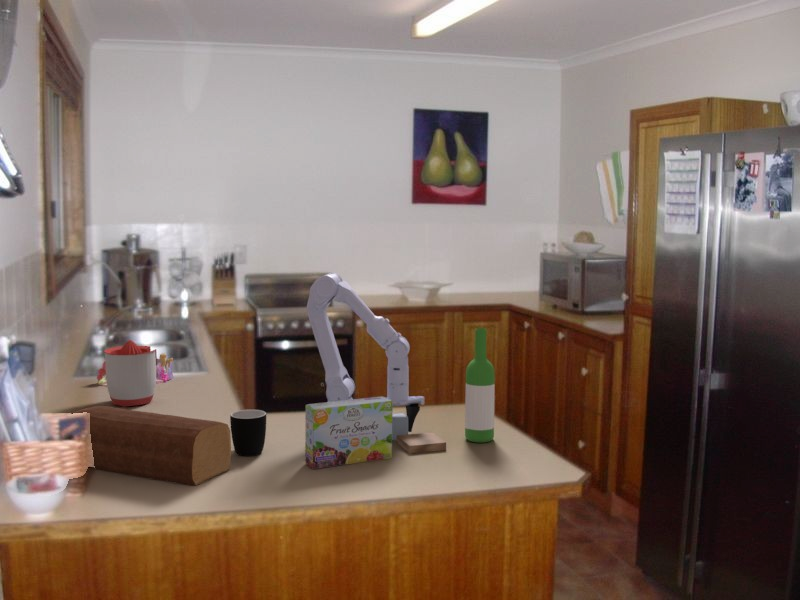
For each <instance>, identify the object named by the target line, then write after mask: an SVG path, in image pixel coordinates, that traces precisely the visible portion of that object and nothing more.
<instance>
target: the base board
mask: <svg viewBox="0 0 800 600" xmlns="http://www.w3.org/2000/svg"><path fill="white" fill-rule="evenodd" d="M396 444H397V445H399V446H400V447H401V448H402V449H404V451H406V453H408V454H409V455H410V454H419V453H420V454H421V453H429V452H430V453H431V452H437V451H438V452H439V451H446V450H447V442H446V440H444V439H442V438H441V437H439V436H438V435H437V434H436V433H434V432H432V431H431V432H421V433H419V432H418V433H411V434H410V433H408V435H397V440H396Z"/></svg>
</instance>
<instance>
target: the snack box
mask: <svg viewBox="0 0 800 600" xmlns="http://www.w3.org/2000/svg"><path fill="white" fill-rule="evenodd" d="M393 409H394V406H393V401H392V400H390V399H388V398H387V397H385V396H383V395H381V396H371V397H364V398H353V399H352V400H343V401H334V402H328V401H327V402H317V403H308V404H305V414H304V415H305V417H304V418H305V421H304V423H305V433H304V434H305V447H304V448H305V464H307V465H308V467H310V468H311V469H312V470H317V469H322V468H330V467H331V468H332V467H336V466H345V465H351V464H359V463H367V462H373V461H380V460H386V459H391V458H392V456H393V440H392V414H393Z"/></svg>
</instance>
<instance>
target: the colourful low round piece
mask: <svg viewBox="0 0 800 600" xmlns="http://www.w3.org/2000/svg"><path fill="white" fill-rule="evenodd" d="M166 358H167V353H160V354H159V359H160V360H161V362H162V363H157V365H156V384H159V383H160V384H161V383H166V382H167V381H168V382H169V381H170V380H172V379H174V373H173V360H174V358H173V357H171V358H168V359H166ZM101 365H102V366H101V367H100V368H99V369H98V372H97V373H98V375H97V376H96V379H97V380H96V382H97V384H98V385H99V386H103V387H107V382H106V364H105V361H103V363H102V364H101ZM103 376H105V377H103Z"/></svg>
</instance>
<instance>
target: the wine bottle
mask: <svg viewBox="0 0 800 600" xmlns="http://www.w3.org/2000/svg"><path fill="white" fill-rule="evenodd" d="M474 333H475V334H474V335H475V336H474V339H475V341H474V358H473V359H472V360H471V361H470V362H469V363H468V365H467V366H466V369H465V396H464V397H465V407H464V408H465V411H464V412H465V414H464V431H465V432H464V433H465V434H464V437H465V439H467V441H468V442H471V443H478V444H479V443H481V444H482V443H489V442H491V441H492V440H493V439H494V436H495V398H496V396H495V393H496V392H495V388H496V387H495V386H496V385H495V383H496V382H495V380H496V378H495V376H496V373H495V367H494V365H493V364H492V362H491V361H489V360H488V359H487V328H483V327H477V328H475V332H474Z"/></svg>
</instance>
